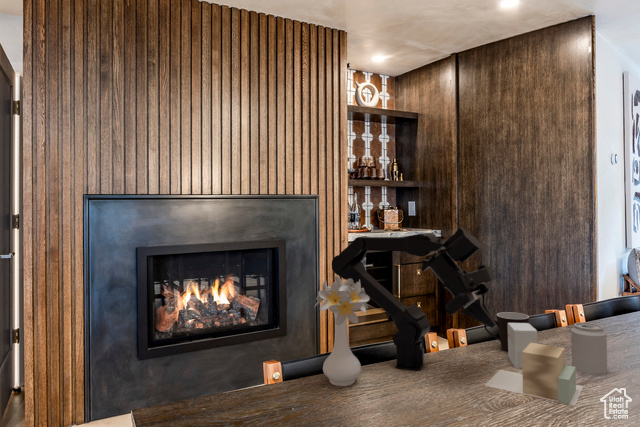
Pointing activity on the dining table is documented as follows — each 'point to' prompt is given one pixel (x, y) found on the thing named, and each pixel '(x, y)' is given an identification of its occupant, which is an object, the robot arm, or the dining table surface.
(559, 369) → the oak block
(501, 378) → the laminate slab
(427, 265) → the robot arm
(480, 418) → the dining table surface
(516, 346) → the small box
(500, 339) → the coffee mug
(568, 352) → the dining table surface
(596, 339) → the can
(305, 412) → the dining table surface
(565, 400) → the board
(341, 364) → the flower vase
